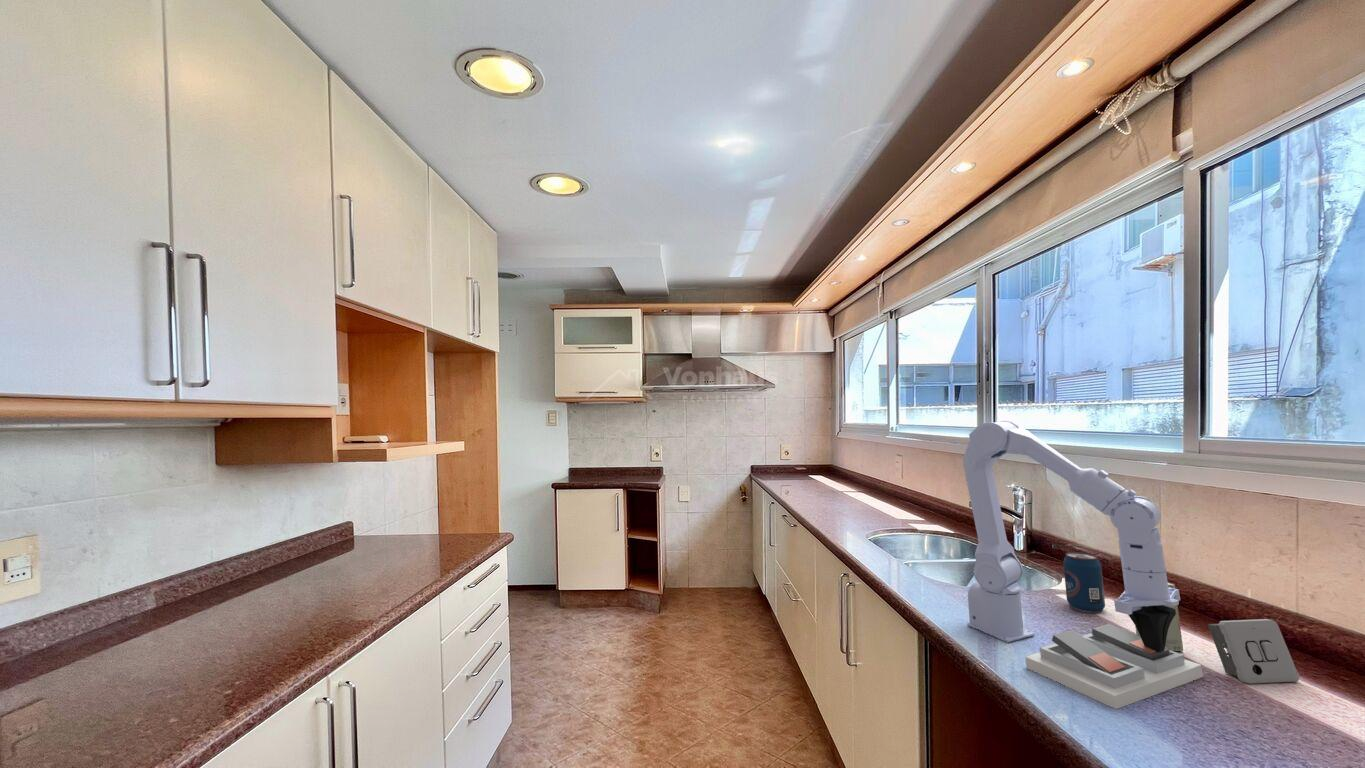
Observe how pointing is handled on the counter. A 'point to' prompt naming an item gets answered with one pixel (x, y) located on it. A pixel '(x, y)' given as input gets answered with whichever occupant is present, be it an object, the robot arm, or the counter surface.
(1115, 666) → the rocker
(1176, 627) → the skincare box
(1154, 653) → the rocker
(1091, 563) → the soda can
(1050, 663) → the breaker panel
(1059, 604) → the counter surface
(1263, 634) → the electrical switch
